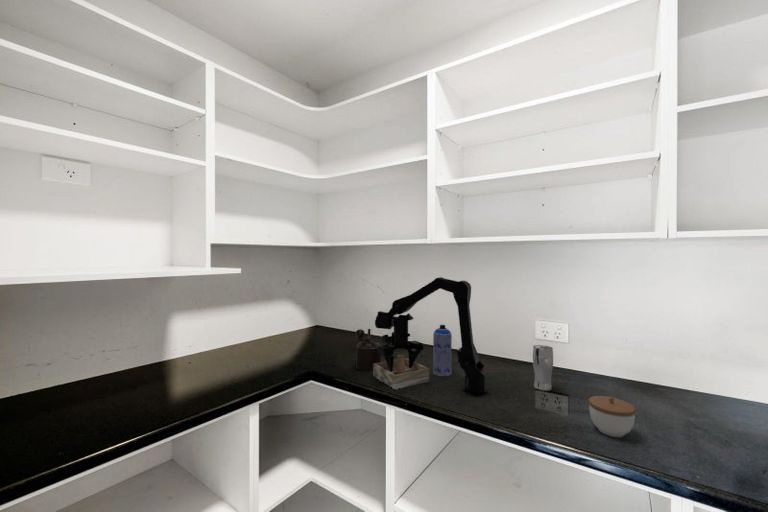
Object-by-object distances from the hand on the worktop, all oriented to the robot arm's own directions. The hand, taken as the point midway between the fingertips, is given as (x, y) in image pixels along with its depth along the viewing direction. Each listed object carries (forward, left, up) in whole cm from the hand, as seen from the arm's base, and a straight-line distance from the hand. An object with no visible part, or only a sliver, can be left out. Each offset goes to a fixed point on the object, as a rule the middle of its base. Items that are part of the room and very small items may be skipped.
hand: (400, 369), depth 132 cm
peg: (0, 0, -4) cm, 4 cm away
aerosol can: (-3, -19, -4) cm, 20 cm away
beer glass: (-34, -41, -4) cm, 53 cm away
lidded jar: (-63, -28, -4) cm, 69 cm away
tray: (0, 0, -4) cm, 4 cm away
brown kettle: (+18, +5, -4) cm, 19 cm away
